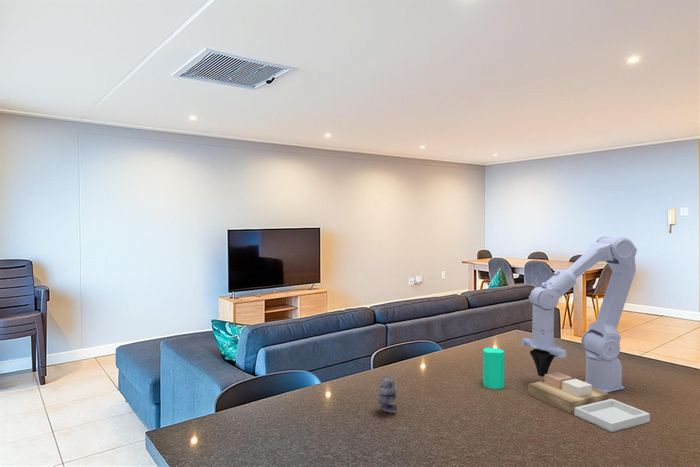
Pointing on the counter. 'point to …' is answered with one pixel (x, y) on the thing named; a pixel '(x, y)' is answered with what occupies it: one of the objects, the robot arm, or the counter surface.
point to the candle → (493, 368)
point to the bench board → (564, 396)
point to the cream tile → (577, 387)
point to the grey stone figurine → (387, 394)
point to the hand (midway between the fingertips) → (542, 375)
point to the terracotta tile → (556, 379)
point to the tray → (612, 415)
